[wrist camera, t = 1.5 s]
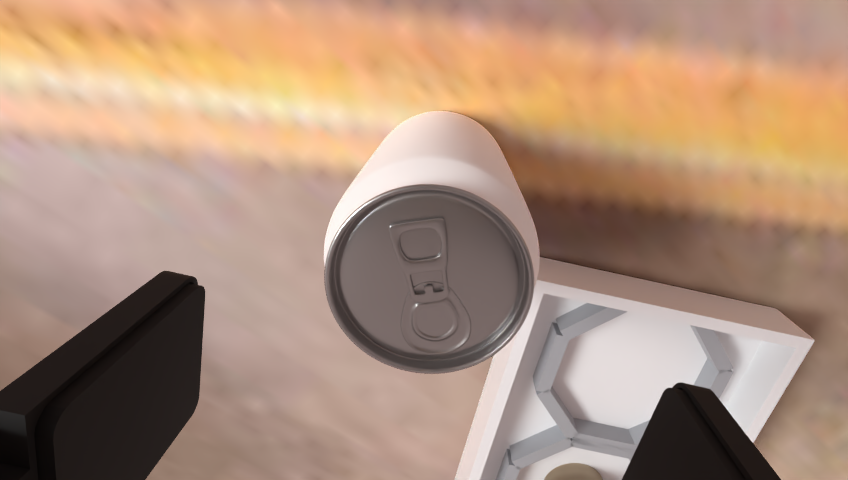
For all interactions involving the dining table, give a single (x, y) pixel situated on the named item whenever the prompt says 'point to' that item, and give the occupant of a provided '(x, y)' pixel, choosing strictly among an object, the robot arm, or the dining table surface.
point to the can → (432, 248)
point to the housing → (619, 370)
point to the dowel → (573, 472)
